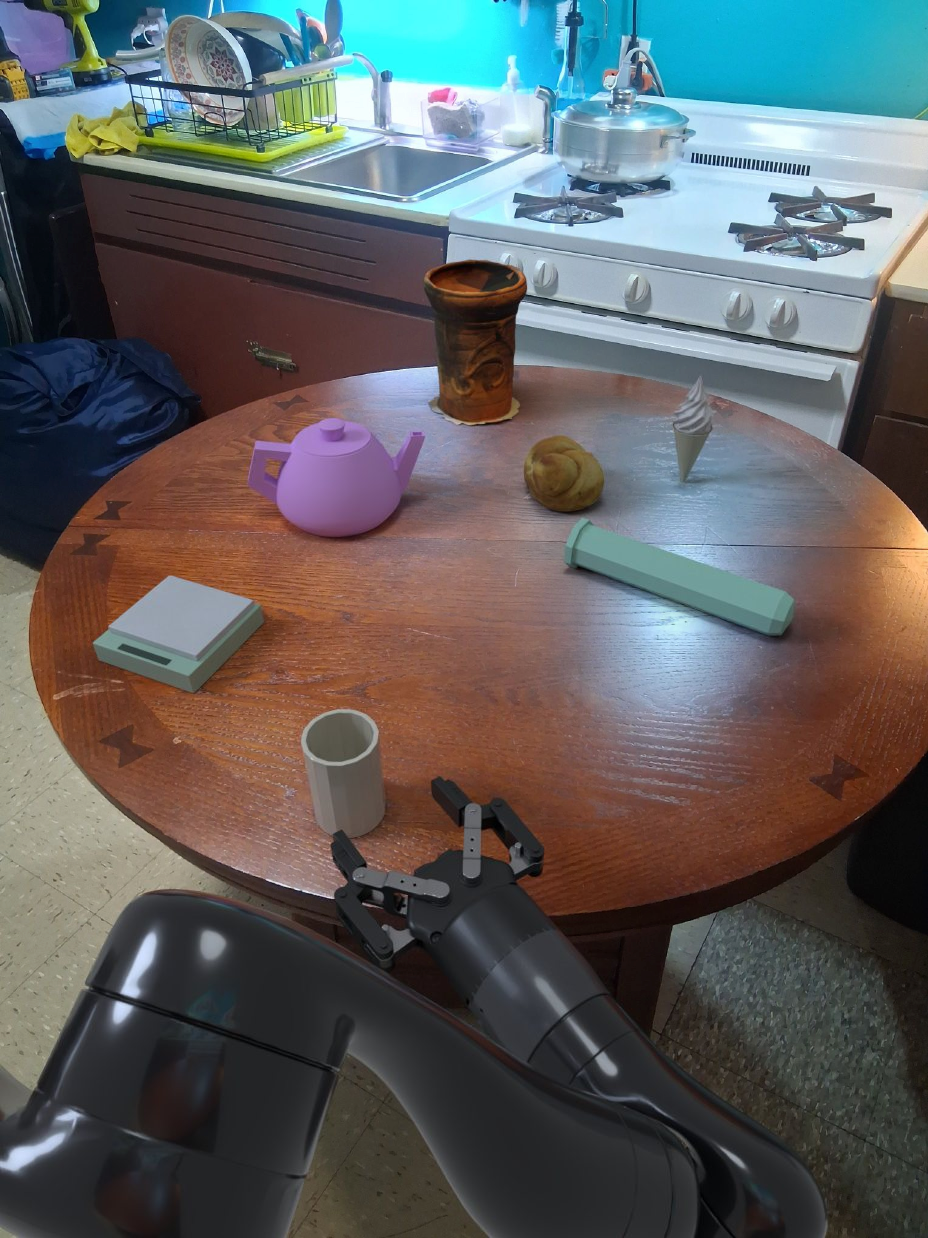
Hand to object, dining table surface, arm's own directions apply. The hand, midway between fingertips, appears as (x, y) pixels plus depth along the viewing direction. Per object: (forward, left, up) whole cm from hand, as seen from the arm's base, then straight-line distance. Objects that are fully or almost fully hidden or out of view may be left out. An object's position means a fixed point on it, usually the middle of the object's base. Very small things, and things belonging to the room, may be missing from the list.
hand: (387, 811), depth 65 cm
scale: (+16, +33, -7) cm, 37 cm away
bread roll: (+60, +7, -7) cm, 60 cm away
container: (+43, -12, -7) cm, 46 cm away
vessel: (+78, +27, -7) cm, 82 cm away
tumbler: (+4, +6, -7) cm, 10 cm away
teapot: (+45, +31, -7) cm, 55 cm away
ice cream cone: (+69, -7, -7) cm, 69 cm away
